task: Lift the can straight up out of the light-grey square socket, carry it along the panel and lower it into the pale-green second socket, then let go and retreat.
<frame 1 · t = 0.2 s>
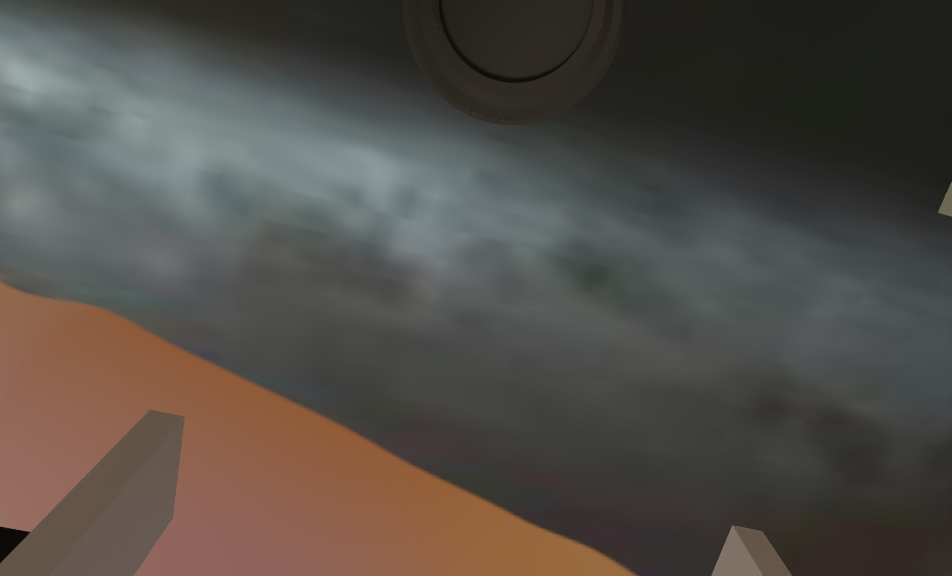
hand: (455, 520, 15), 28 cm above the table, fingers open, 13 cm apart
coffee cup: (499, 34, 38), on the table
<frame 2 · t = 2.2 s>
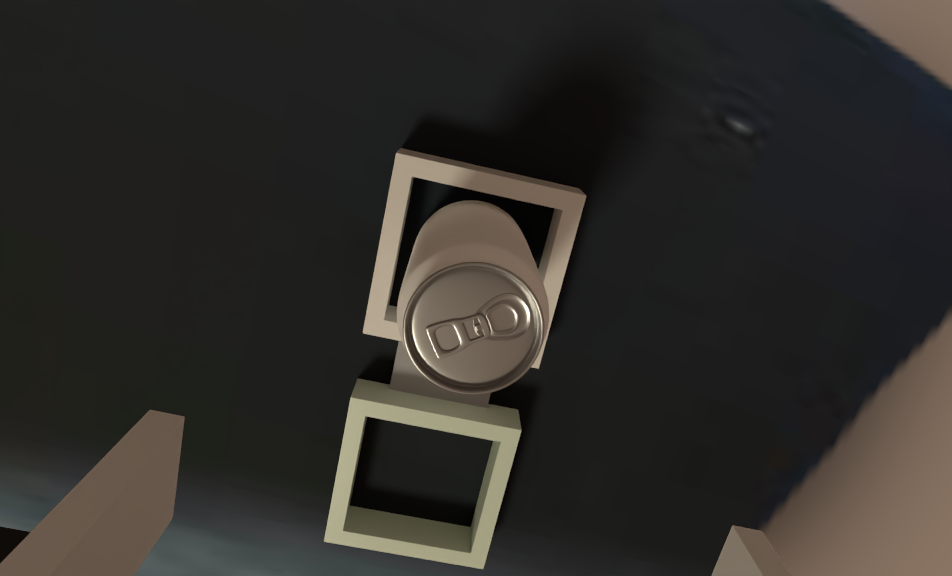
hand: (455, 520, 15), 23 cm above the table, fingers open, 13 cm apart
socket panel: (445, 364, 39), on the table
can: (470, 253, 37), resting in socket panel
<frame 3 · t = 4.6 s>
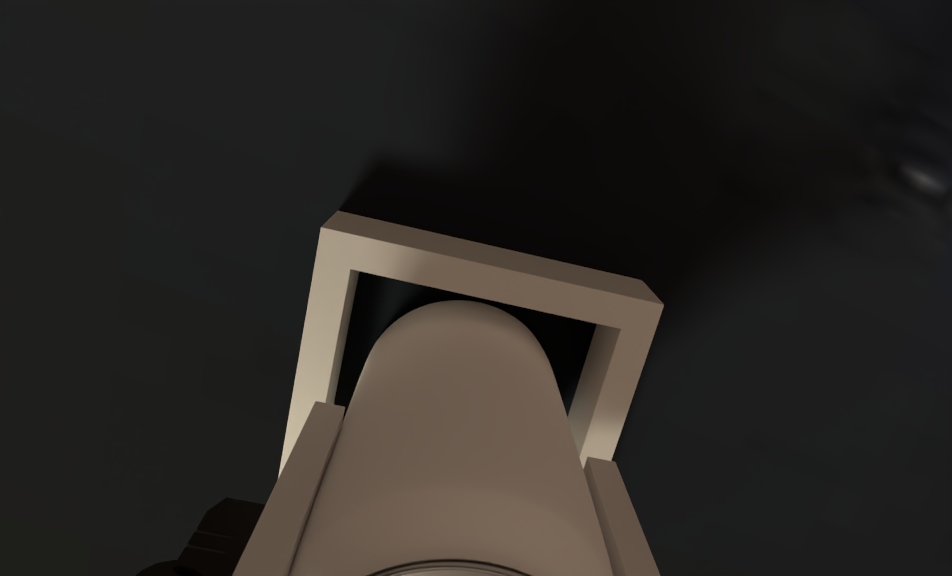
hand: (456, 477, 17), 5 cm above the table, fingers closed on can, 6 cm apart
socket panel: (416, 551, 24), on the table
can: (458, 382, 22), resting in socket panel, touching gripper
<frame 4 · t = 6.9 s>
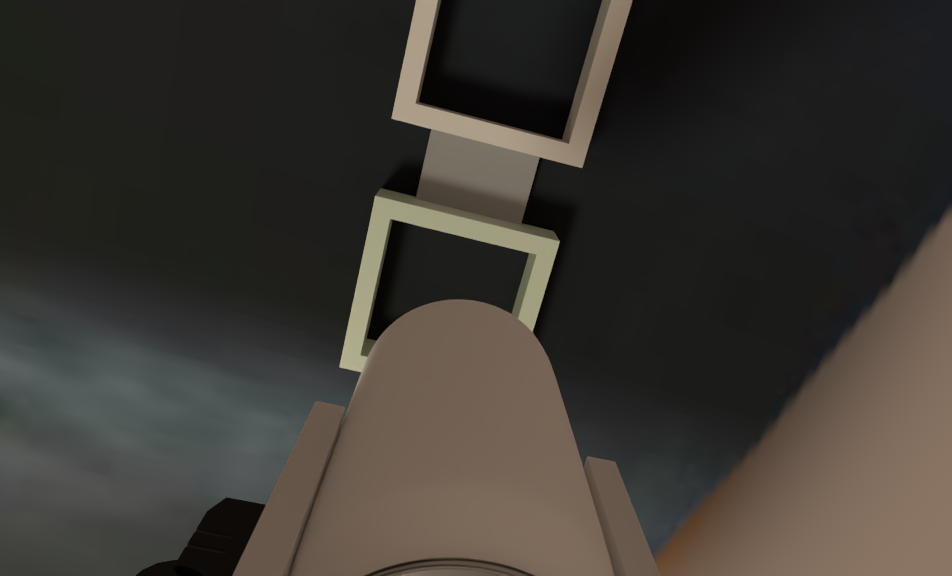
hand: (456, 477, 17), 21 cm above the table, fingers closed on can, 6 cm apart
socket panel: (477, 175, 36), on the table
can: (458, 381, 22), point 16 cm above the table, touching gripper
when the fingers open (6 cm above the table, at t = 9.4 s): can stays where it is, resting in socket panel.
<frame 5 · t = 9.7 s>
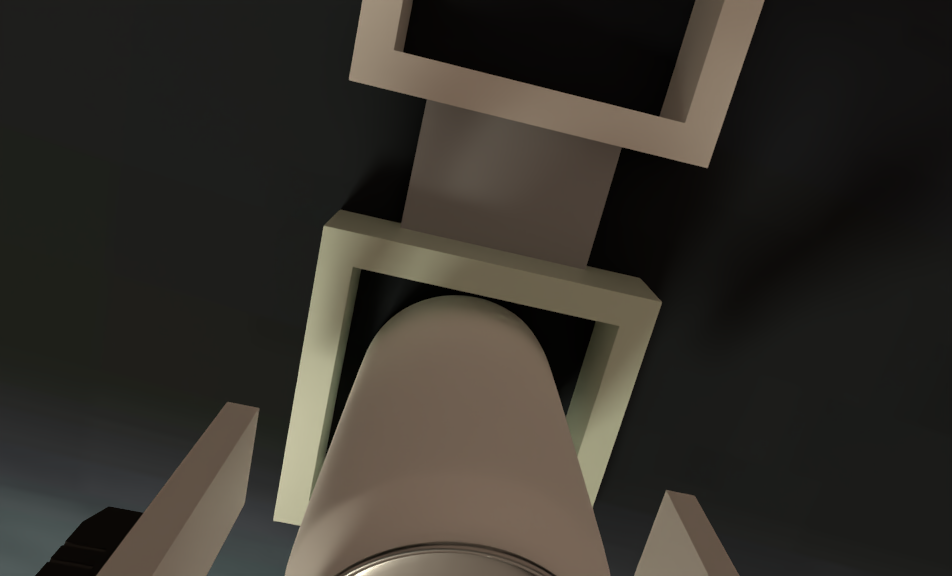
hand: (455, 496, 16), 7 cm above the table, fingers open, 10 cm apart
socket panel: (508, 184, 20), on the table
can: (456, 376, 23), resting in socket panel
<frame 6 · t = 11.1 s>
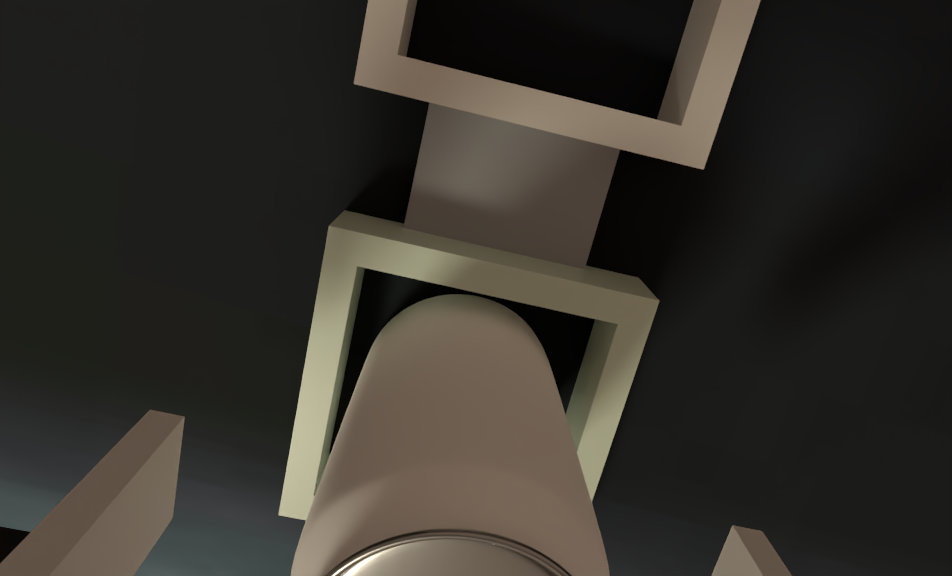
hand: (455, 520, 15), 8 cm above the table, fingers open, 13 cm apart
socket panel: (509, 185, 21), on the table
can: (457, 374, 23), resting in socket panel
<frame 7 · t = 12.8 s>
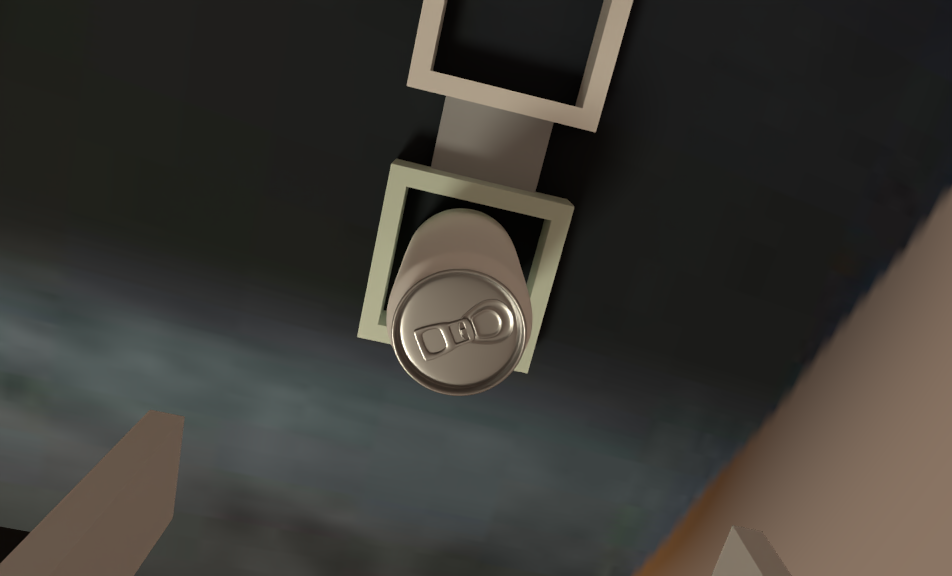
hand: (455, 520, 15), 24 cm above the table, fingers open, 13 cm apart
socket panel: (491, 144, 36), on the table
can: (461, 259, 38), resting in socket panel
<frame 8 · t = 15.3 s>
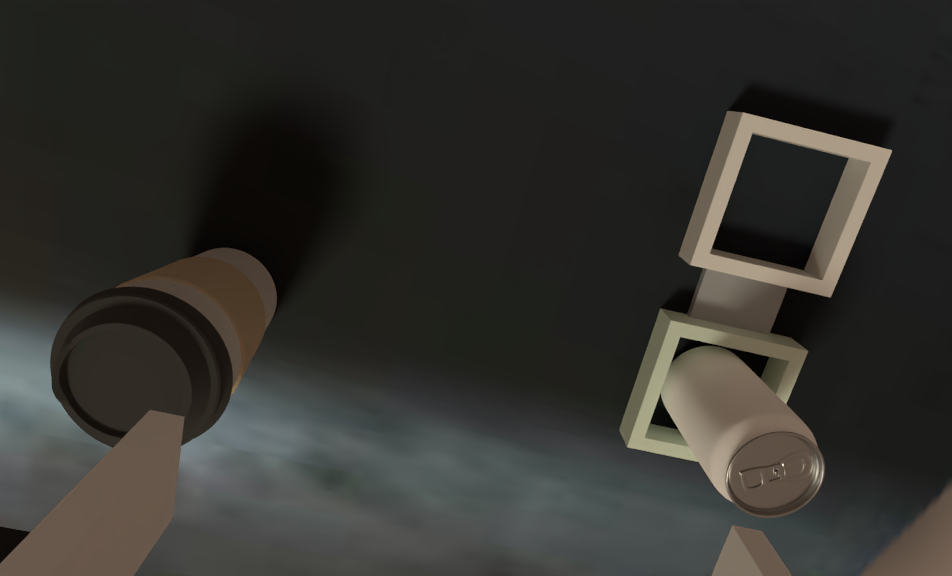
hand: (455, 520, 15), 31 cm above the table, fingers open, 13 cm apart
socket panel: (735, 297, 46), on the table
coffee cup: (229, 294, 46), on the table
can: (701, 382, 48), resting in socket panel
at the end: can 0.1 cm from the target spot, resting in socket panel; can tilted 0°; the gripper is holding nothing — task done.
